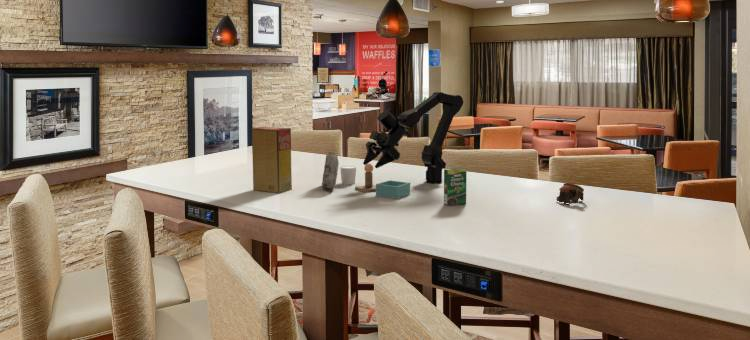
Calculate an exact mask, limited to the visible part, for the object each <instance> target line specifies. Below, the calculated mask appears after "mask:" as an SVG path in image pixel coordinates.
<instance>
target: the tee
mask: <svg viewBox="0 0 750 340" xmlns="http://www.w3.org/2000/svg"><path fill="white" fill-rule="evenodd" d="M373 178H374V177H373V171H372V172H370V173H367V172H366V171H365V172H364V185H358V186H357V185H356V186H355V189H354V190H357V191H360V192H363V193H371V192H373V193H374V192H376V184H375V185H374V184H373V180H374V179H373Z"/></svg>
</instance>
